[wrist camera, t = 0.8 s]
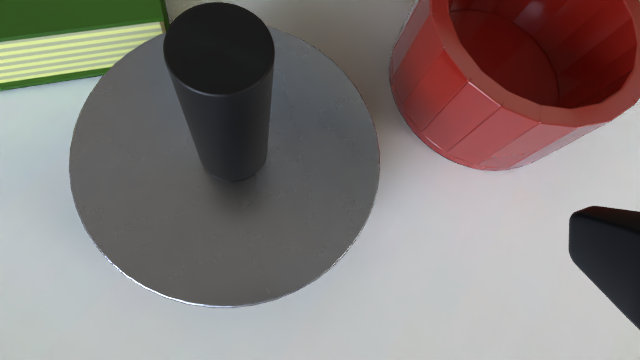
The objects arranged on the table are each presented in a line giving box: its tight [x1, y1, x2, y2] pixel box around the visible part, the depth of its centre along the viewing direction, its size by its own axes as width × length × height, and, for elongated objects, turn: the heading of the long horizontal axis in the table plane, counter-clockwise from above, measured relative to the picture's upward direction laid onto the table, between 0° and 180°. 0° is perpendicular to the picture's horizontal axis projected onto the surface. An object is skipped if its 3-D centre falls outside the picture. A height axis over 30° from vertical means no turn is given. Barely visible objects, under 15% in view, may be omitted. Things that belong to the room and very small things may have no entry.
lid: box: [69, 2, 380, 308], centre depth 14 cm, size 13×13×8 cm
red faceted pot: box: [389, 0, 640, 171], centre depth 22 cm, size 11×11×6 cm
